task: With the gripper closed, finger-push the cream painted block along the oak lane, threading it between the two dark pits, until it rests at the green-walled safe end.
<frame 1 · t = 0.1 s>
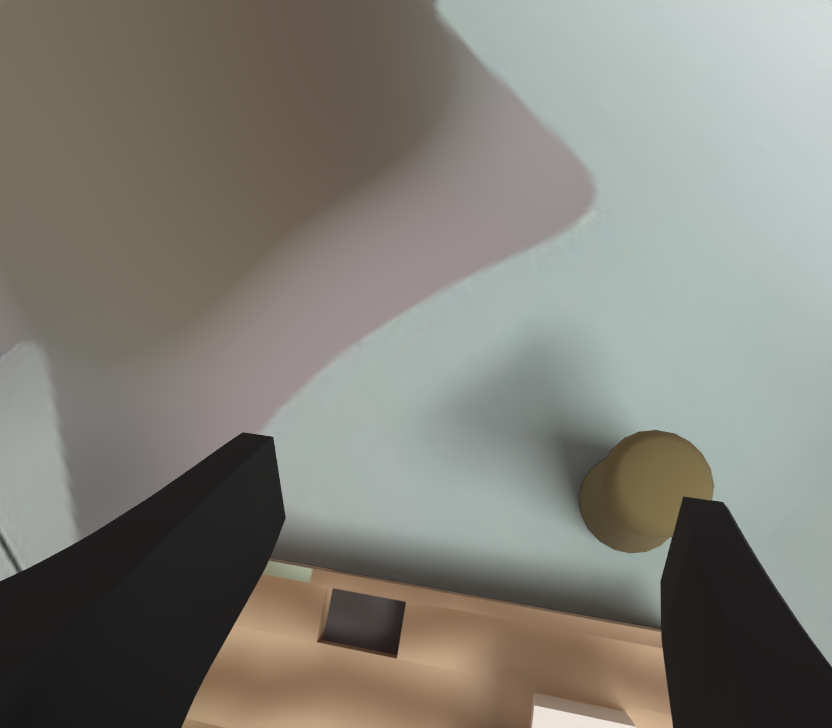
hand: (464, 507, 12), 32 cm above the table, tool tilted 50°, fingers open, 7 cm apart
cork: (628, 502, 42), on the table
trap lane: (409, 709, 41), on the table
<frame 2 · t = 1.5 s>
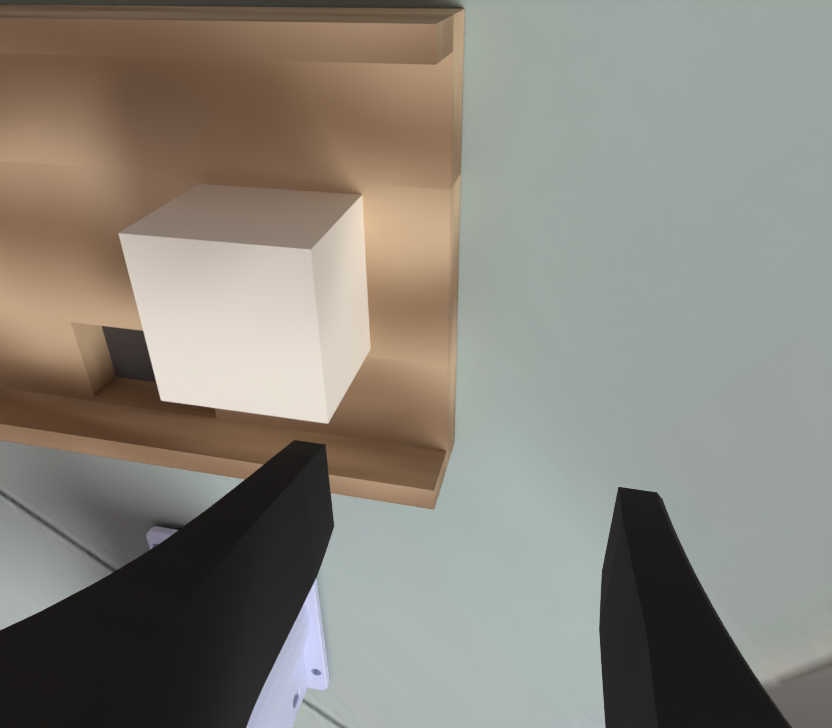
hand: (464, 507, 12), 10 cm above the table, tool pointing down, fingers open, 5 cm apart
block: (288, 269, 21), point 1 cm above the table, touching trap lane
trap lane: (51, 229, 24), on the table
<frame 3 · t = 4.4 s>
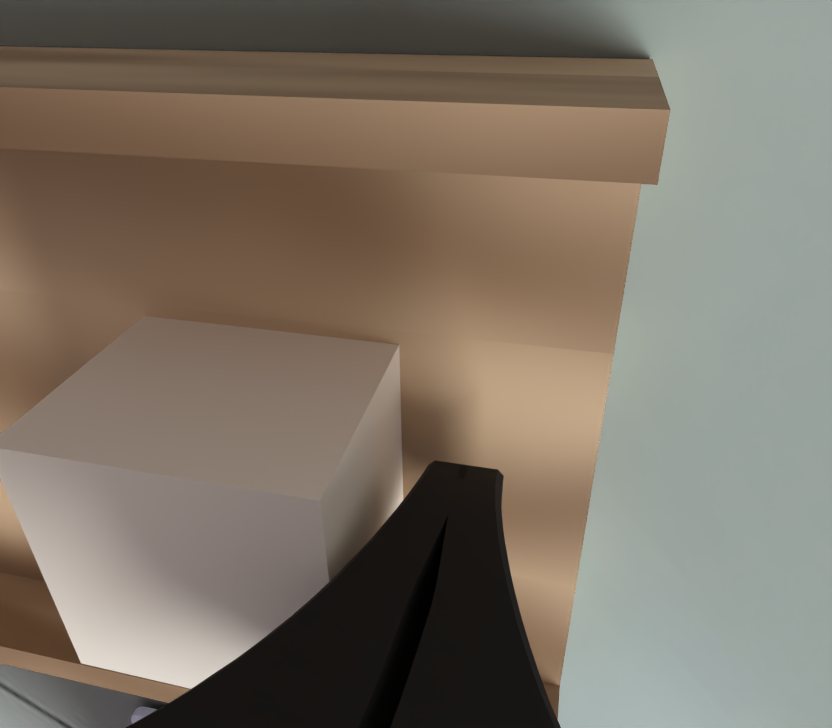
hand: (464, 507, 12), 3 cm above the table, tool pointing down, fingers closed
block: (281, 437, 14), point 2 cm above the table, touching gripper
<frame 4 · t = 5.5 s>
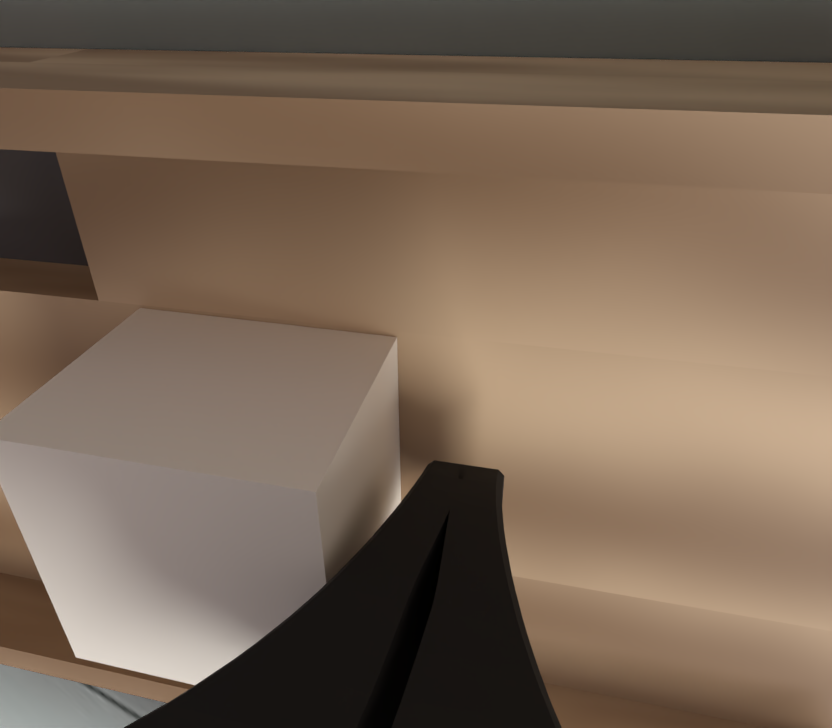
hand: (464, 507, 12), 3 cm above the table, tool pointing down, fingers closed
block: (279, 431, 14), point 2 cm above the table, touching gripper
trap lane: (210, 385, 16), on the table
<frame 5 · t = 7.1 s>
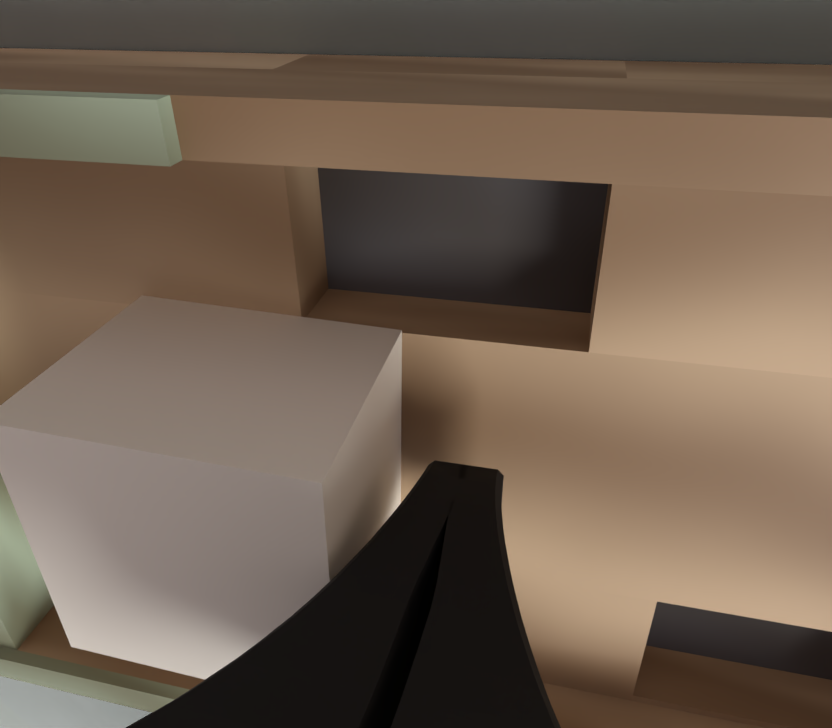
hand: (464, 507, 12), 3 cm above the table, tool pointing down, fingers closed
block: (279, 423, 14), point 2 cm above the table, touching gripper
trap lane: (624, 439, 14), on the table
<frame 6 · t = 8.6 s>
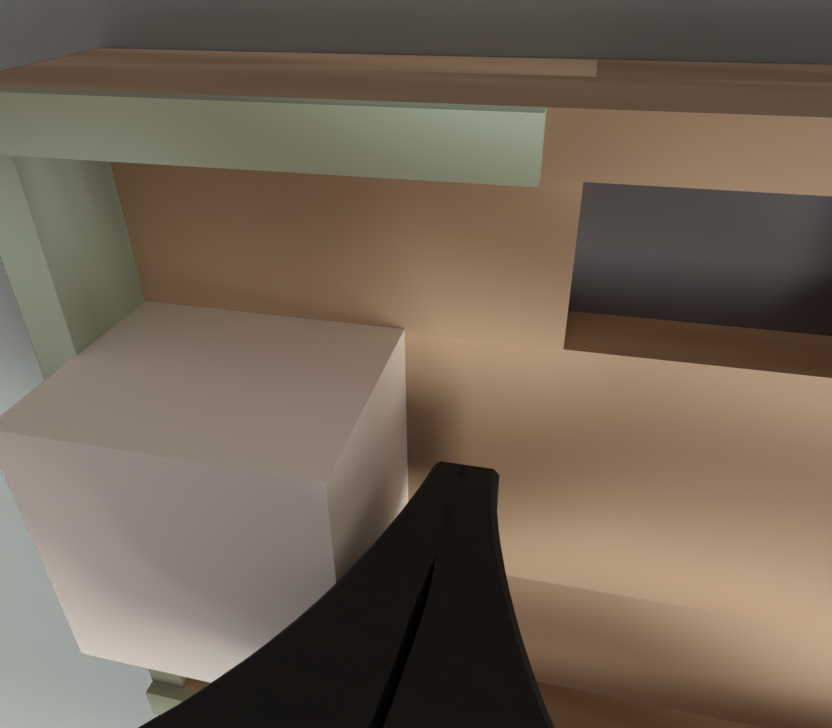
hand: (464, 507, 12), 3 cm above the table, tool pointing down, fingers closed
block: (285, 425, 14), point 2 cm above the table, touching gripper, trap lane
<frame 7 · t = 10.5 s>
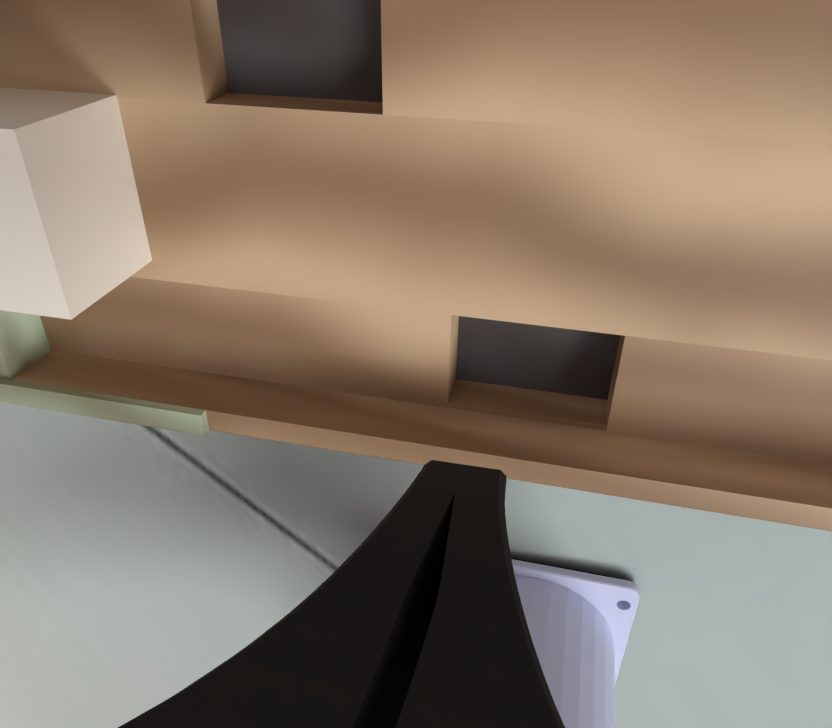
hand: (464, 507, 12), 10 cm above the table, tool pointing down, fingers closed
block: (62, 176, 21), point 1 cm above the table, touching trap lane
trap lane: (430, 203, 20), on the table
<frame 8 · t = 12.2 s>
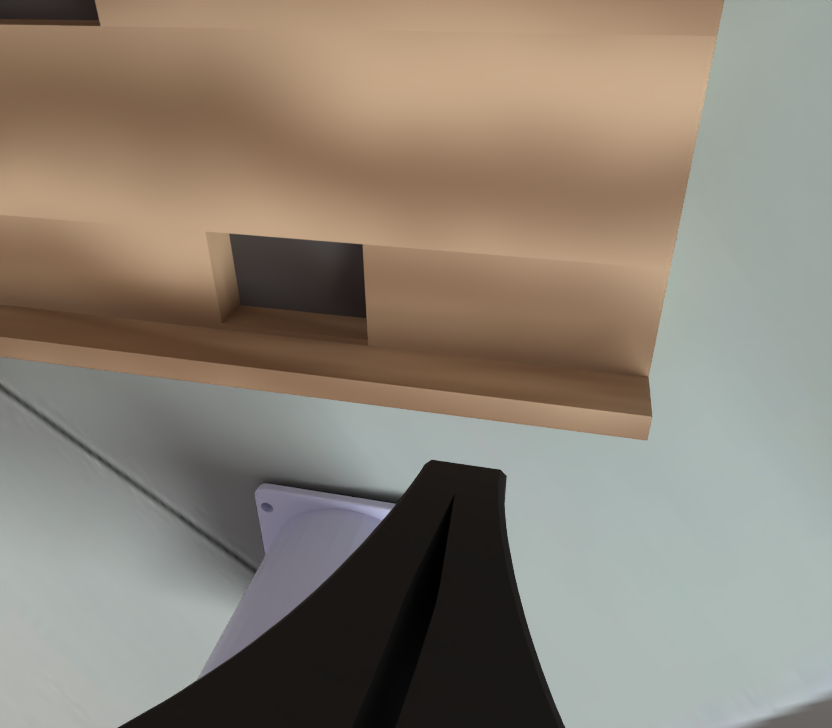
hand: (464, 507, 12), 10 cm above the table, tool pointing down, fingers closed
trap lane: (183, 123, 21), on the table
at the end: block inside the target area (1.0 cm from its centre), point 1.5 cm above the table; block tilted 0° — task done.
